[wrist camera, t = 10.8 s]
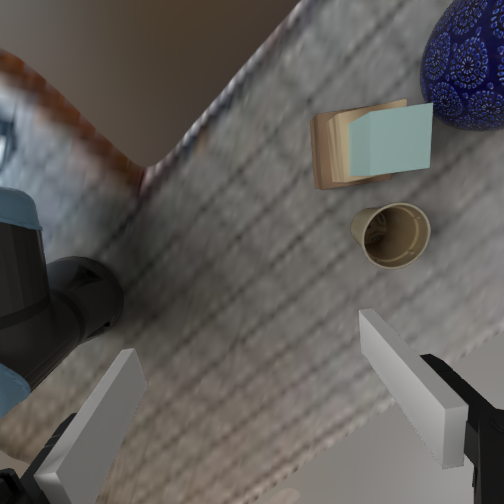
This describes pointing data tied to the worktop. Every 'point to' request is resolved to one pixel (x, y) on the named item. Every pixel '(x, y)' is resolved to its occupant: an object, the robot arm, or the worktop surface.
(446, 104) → the planter
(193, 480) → the worktop surface
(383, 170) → the teal cube
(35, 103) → the worktop surface
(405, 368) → the robot arm
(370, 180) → the tower base
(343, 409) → the worktop surface
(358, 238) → the flower pot
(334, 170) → the tower top
